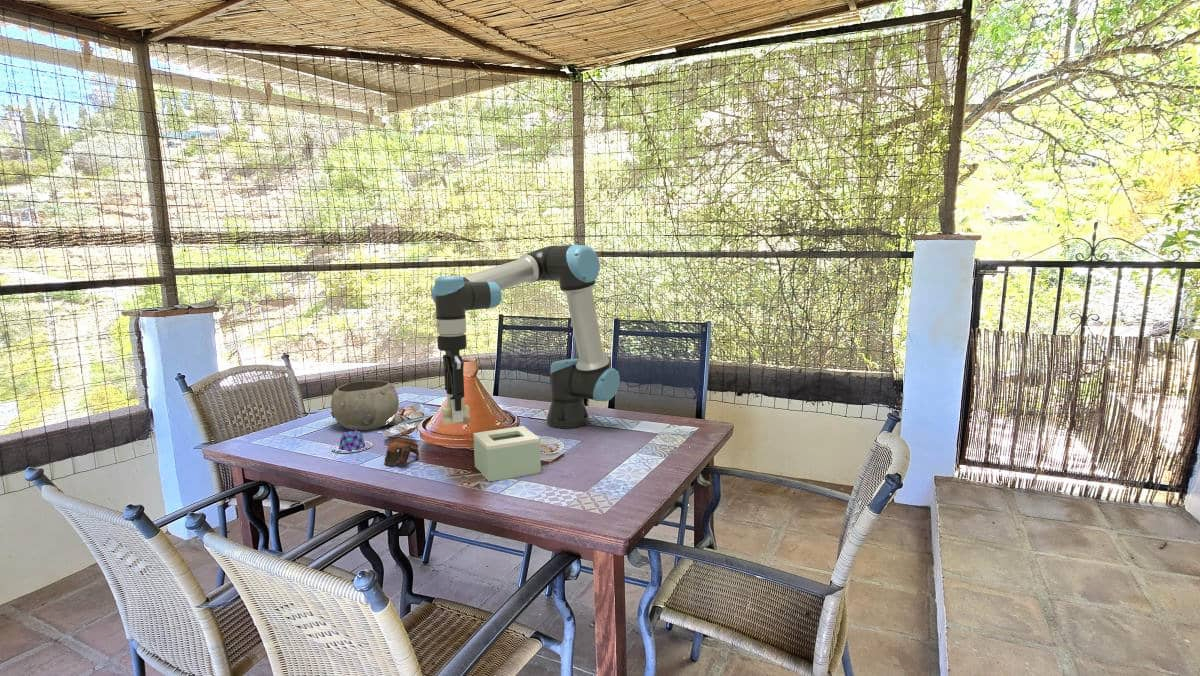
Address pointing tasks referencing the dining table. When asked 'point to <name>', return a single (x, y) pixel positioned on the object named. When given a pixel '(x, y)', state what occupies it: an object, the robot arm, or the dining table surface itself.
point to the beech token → (448, 415)
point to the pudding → (351, 441)
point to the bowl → (364, 404)
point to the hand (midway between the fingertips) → (455, 419)
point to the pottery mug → (400, 451)
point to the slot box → (507, 453)
